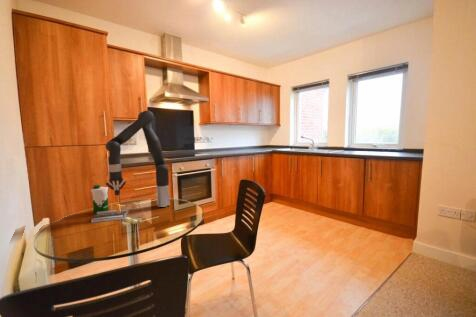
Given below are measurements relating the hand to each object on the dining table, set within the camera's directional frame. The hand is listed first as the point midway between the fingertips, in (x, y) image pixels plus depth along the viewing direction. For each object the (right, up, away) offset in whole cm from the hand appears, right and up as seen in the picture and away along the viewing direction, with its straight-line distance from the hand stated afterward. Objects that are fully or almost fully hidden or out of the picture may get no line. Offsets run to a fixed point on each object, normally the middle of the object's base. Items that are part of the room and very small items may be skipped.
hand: (117, 195), depth 147 cm
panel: (-5, -15, 0) cm, 16 cm away
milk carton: (-17, -14, +10) cm, 25 cm away
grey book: (-5, -14, 0) cm, 15 cm away
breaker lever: (0, -13, +2) cm, 13 cm away
